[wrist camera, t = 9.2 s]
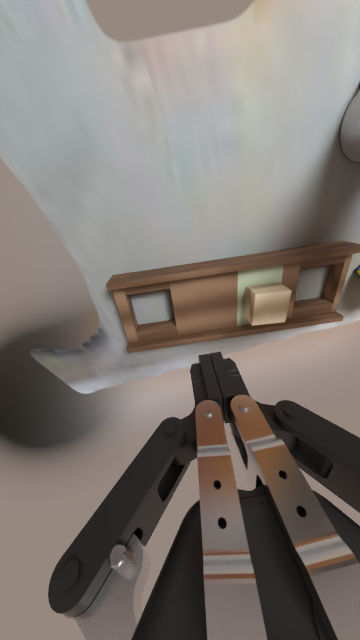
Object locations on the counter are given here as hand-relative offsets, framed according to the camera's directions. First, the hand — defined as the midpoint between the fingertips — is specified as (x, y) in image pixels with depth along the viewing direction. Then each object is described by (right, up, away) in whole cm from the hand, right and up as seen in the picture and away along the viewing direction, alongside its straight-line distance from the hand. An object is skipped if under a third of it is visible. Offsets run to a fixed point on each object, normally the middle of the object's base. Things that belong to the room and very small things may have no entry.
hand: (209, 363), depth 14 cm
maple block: (+13, +7, +24) cm, 28 cm away
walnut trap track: (+7, +8, +26) cm, 28 cm away
